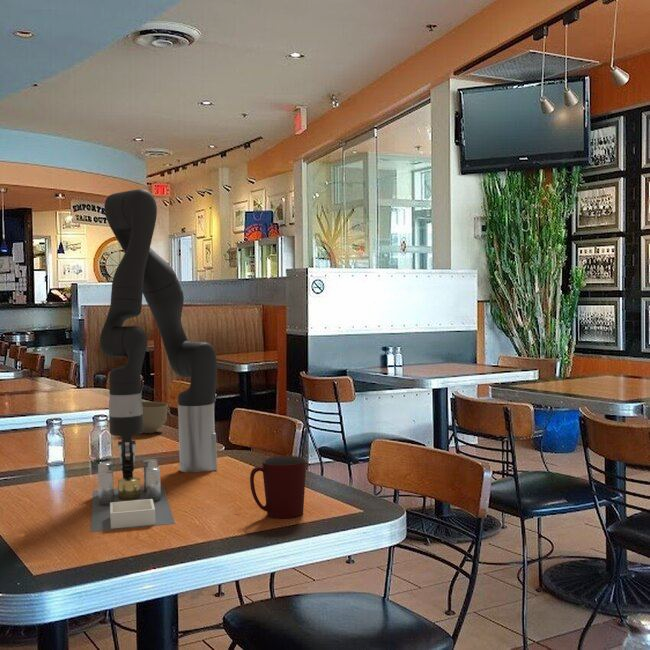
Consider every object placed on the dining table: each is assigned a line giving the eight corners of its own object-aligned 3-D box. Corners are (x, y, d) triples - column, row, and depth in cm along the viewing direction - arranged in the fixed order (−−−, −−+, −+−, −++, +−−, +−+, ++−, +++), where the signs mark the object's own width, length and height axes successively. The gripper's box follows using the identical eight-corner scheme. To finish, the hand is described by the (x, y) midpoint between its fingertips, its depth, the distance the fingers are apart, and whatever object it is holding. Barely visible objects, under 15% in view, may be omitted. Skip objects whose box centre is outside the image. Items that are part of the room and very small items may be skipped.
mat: (163, 486, 192) (163, 484, 192) (175, 526, 159) (175, 523, 159) (93, 492, 188) (93, 490, 188) (90, 534, 155) (90, 531, 155)
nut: (140, 493, 184) (139, 476, 183) (141, 499, 179) (140, 481, 179) (118, 495, 182) (117, 478, 182) (118, 500, 178) (118, 482, 178)
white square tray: (152, 513, 167) (152, 498, 167) (155, 524, 159) (155, 509, 159) (110, 517, 165) (110, 502, 165) (110, 528, 157) (110, 513, 157)
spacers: (157, 488, 188) (157, 458, 188) (161, 501, 177) (160, 469, 176) (99, 493, 185) (98, 463, 185) (98, 506, 173) (97, 474, 173)
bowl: (164, 435, 262) (163, 405, 262) (125, 436, 262) (124, 405, 262) (172, 429, 275) (171, 399, 274) (135, 429, 275) (134, 400, 274)
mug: (261, 525, 159) (260, 469, 158) (242, 514, 166) (241, 461, 166) (314, 515, 165) (313, 461, 164) (294, 505, 172) (292, 454, 172)
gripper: (143, 416, 180) (146, 493, 181) (141, 408, 193) (143, 480, 193) (109, 418, 178) (111, 496, 179) (109, 410, 191) (111, 483, 191)
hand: (128, 487), depth 186 cm, fingers closed
